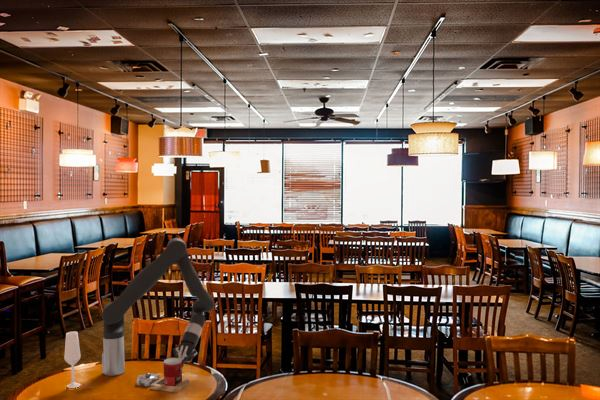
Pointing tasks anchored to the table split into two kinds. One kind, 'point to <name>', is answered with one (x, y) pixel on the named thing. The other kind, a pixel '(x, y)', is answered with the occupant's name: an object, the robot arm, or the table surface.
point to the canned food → (172, 371)
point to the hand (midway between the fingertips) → (178, 369)
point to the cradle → (158, 386)
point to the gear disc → (147, 379)
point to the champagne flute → (72, 354)
